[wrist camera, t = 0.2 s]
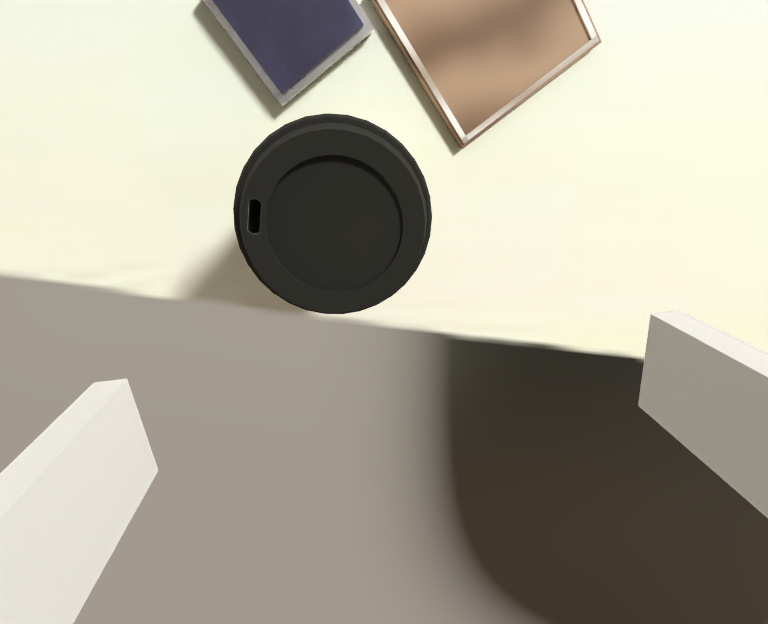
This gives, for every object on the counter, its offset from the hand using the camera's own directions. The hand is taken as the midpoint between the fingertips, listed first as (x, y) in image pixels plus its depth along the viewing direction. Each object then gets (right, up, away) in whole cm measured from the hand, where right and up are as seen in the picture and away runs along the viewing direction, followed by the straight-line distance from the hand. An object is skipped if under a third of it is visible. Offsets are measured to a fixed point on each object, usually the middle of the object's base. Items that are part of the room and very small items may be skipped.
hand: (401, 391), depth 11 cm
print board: (+7, +23, +20) cm, 31 cm away
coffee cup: (-4, +11, +23) cm, 26 cm away
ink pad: (-7, +22, +19) cm, 30 cm away
